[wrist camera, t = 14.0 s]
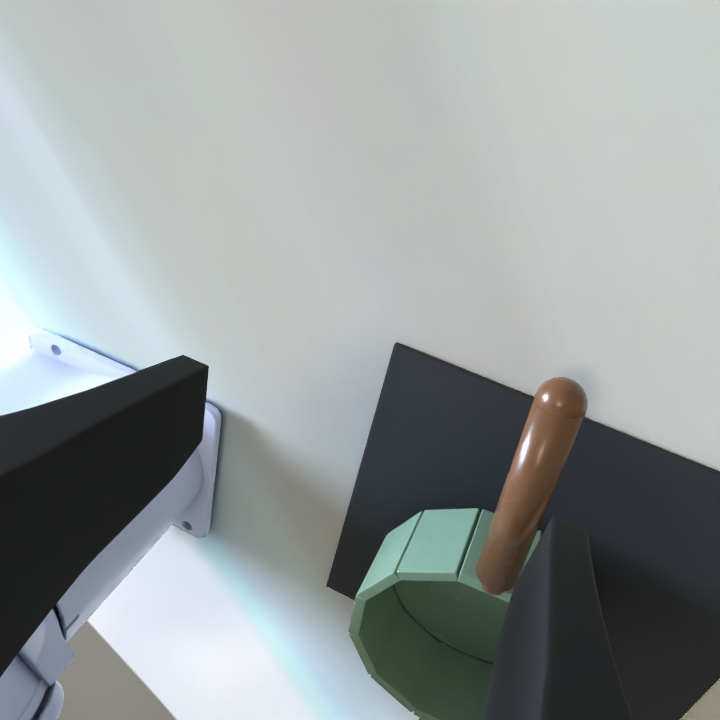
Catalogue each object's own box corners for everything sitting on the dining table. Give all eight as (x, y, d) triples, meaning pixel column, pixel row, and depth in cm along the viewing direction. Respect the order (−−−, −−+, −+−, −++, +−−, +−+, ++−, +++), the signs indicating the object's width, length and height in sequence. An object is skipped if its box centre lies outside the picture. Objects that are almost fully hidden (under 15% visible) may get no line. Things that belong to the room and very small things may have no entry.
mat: (328, 583, 30) (326, 586, 30) (396, 341, 23) (394, 344, 22) (652, 743, 27) (652, 747, 27) (859, 527, 19) (861, 532, 19)
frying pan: (448, 281, 20) (404, 343, 17) (734, 366, 18) (746, 455, 15) (372, 616, 30) (334, 697, 27) (555, 697, 28) (539, 796, 25)
